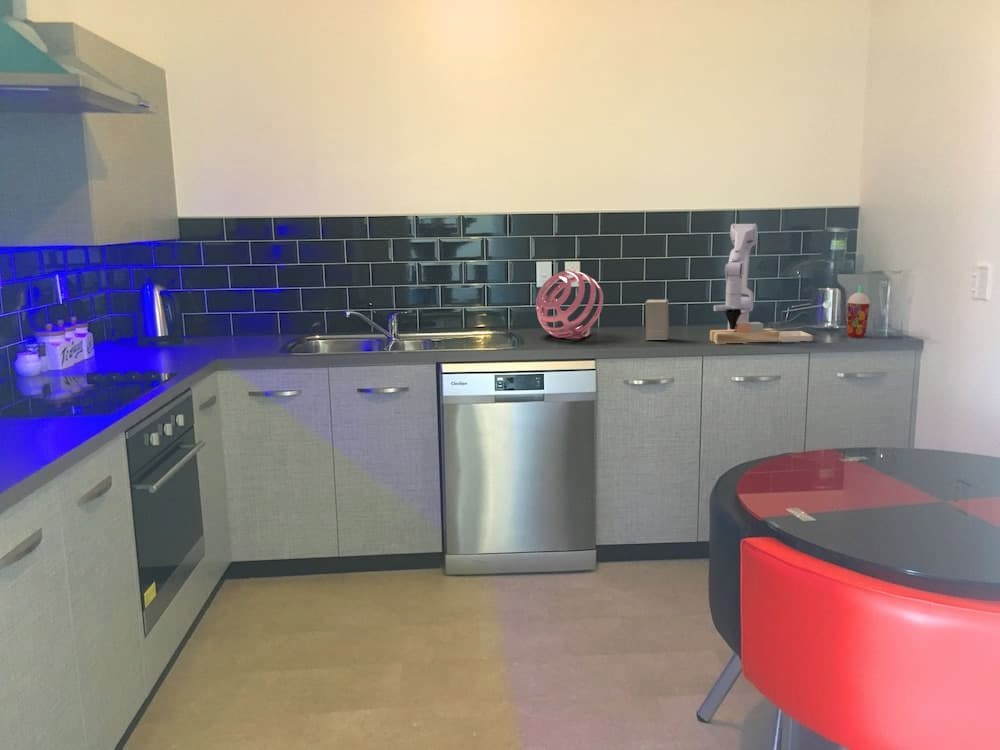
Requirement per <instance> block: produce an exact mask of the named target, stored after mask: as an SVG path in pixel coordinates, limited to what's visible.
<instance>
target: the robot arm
mask: <svg viewBox="0 0 1000 750" xmlns="http://www.w3.org/2000/svg"><path fill="white" fill-rule="evenodd" d="M729 231H730V233H729V235H730V239H731V244H732V246H734V248H732V250H731V251H730V253H729V256H728V257H729V258H728V262H727V263H726V264H725V267H724V274H725V286H726V287H725V304H715V305H713V312H718V311H719V312H720V311H721V312H722V311H724V314H725V316H726V319H727V330H733V329H735V326H736V323H740V322H750V312H752V311H753V310H754V292H753V291H752V290H751V289H749V288H748V276H749V266H750V265H749V264H750V254H751V253H750V252H751V249H752V247H754V246H756V244H757V240H758V239H757V238H758V225H757V223H732V224H731V225H730V230H729Z"/></svg>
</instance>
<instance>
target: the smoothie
mask: <svg viewBox="0 0 1000 750" xmlns="http://www.w3.org/2000/svg"><path fill="white" fill-rule="evenodd" d="M870 304H871V301H870V299H869V297H868V296H867V294H864V293H862V292H861V285H858V291H857V292H855V293H853V294H852V295H851V296H849V298H848V300H847V301H846V311H847V312H846V334H847V335H848V337H849V338H857V339H858V338H859V339H860V338H864V337H865V335H866V333H867V326H868V320H869V312H870V307H871V306H870Z"/></svg>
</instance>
